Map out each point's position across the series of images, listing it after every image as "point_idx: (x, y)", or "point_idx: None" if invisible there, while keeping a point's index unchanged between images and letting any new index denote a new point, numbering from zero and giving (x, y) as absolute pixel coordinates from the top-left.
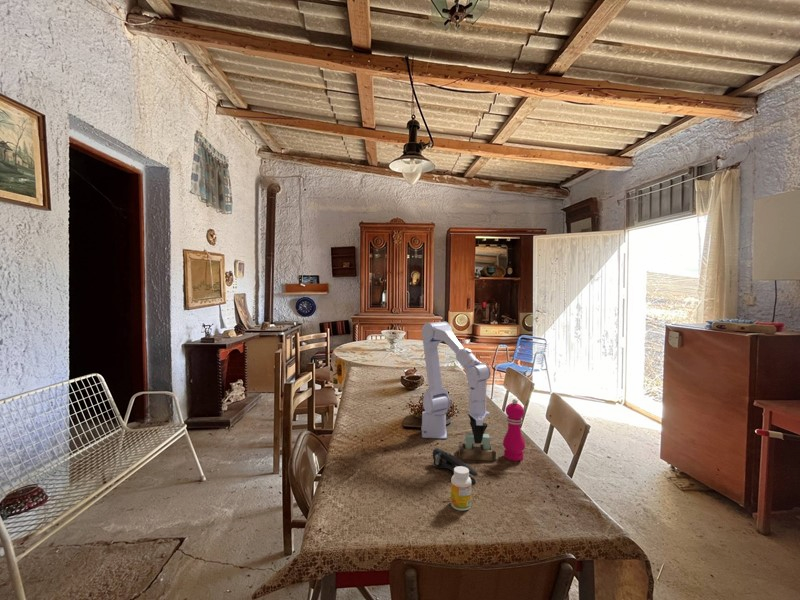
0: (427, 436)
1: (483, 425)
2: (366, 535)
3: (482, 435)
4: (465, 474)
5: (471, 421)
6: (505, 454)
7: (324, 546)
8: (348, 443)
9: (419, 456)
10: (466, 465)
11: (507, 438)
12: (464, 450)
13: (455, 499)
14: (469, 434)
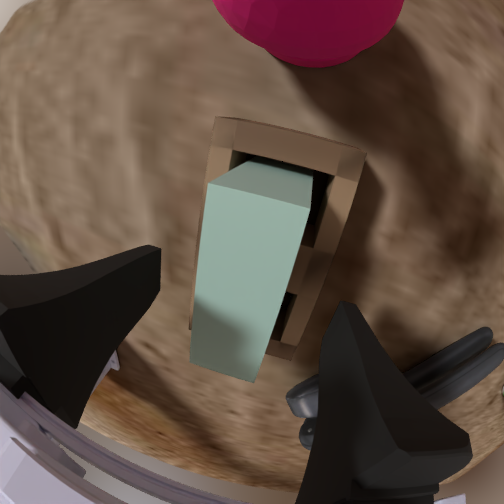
0: (113, 358)
1: (443, 478)
2: (470, 462)
3: (384, 358)
4: None
5: (101, 368)
6: (321, 63)
7: (455, 477)
8: (187, 464)
9: (255, 418)
10: (468, 387)
11: (348, 13)
12: (298, 341)
13: None
14: (216, 352)
